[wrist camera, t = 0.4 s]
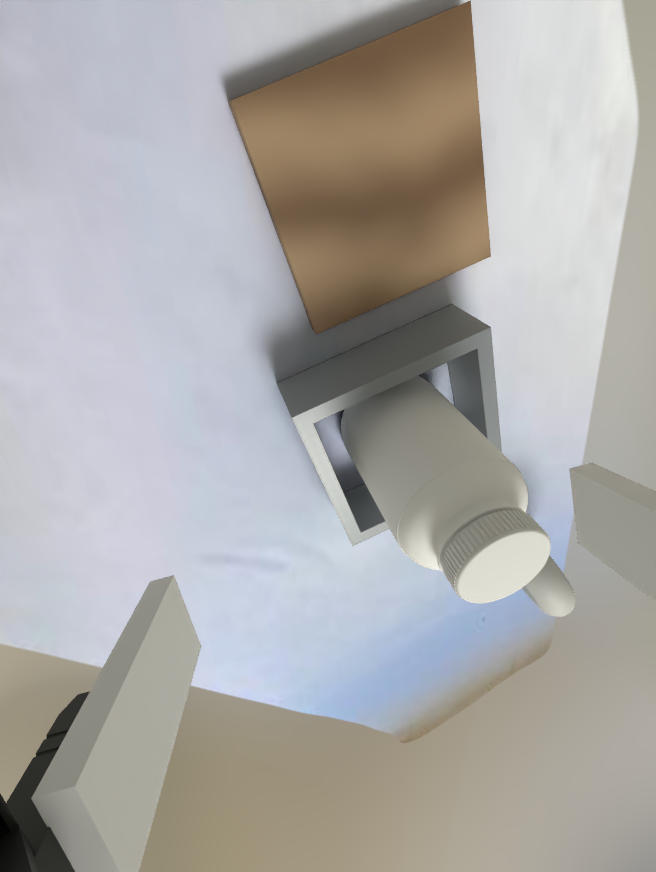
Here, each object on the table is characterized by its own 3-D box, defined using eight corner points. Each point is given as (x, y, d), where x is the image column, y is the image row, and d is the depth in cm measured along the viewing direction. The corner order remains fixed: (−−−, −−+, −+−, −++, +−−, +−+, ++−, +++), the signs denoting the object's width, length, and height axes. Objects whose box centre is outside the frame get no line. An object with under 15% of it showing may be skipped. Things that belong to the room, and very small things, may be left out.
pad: (228, 101, 20) (230, 100, 20) (459, 5, 21) (470, 0, 20) (312, 328, 28) (316, 334, 27) (481, 252, 28) (490, 256, 28)
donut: (523, 541, 49) (591, 620, 41) (497, 558, 49) (560, 640, 41) (499, 494, 43) (573, 575, 35) (469, 514, 43) (536, 599, 35)
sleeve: (276, 383, 29) (291, 417, 26) (452, 304, 30) (490, 327, 26) (334, 506, 37) (352, 546, 34) (472, 442, 38) (503, 474, 34)
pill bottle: (350, 364, 30) (469, 514, 18) (448, 372, 33) (607, 506, 21) (326, 458, 34) (411, 632, 22) (416, 458, 37) (533, 612, 25)
